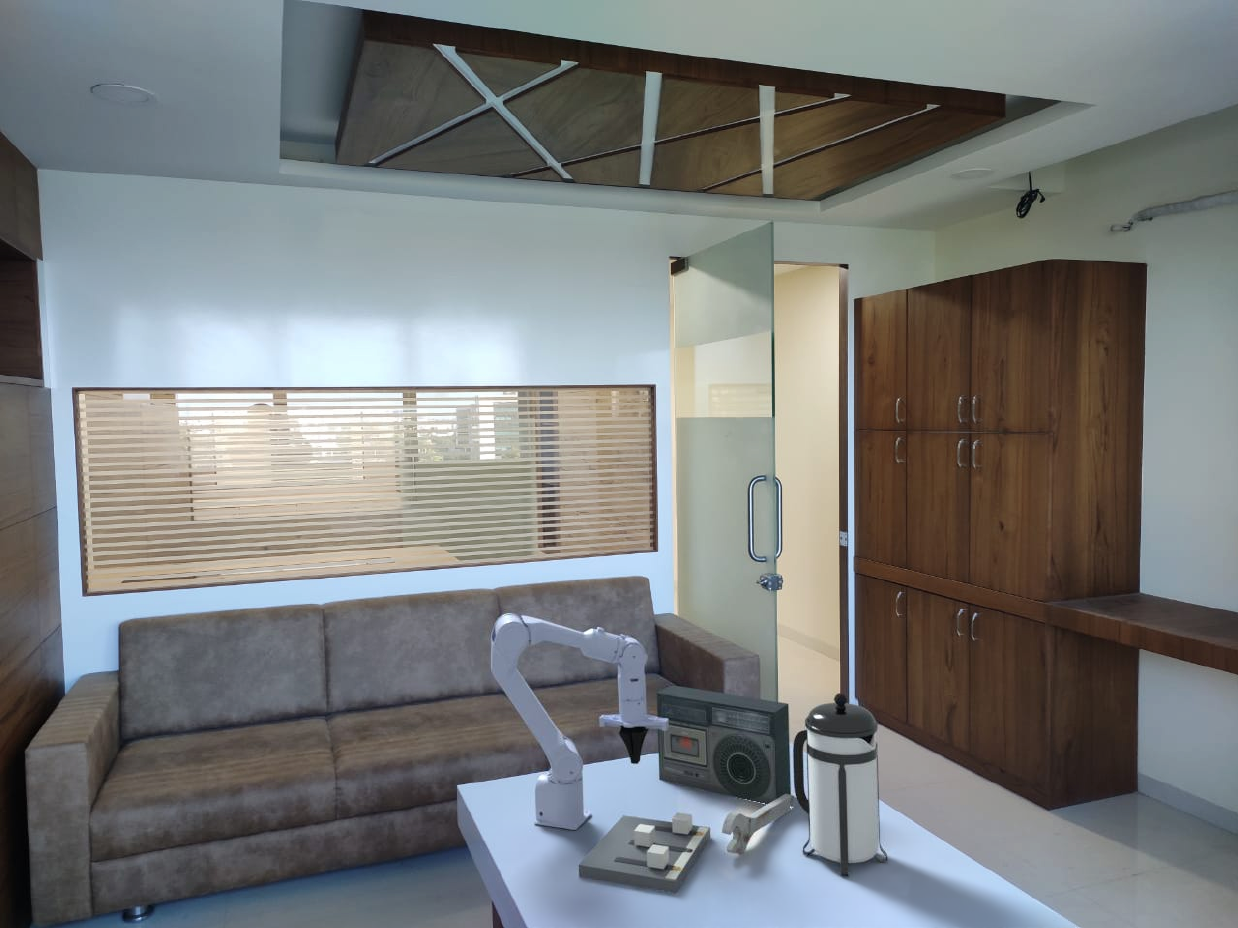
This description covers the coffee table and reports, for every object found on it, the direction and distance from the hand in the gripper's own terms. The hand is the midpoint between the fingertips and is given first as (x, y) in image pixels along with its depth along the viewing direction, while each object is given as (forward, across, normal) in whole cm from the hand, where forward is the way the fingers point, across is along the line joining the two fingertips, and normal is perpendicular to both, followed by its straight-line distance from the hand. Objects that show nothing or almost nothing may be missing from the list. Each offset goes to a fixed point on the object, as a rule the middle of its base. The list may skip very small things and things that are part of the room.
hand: (635, 761), depth 177 cm
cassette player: (+11, +15, +17) cm, 25 cm away
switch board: (+10, +7, -18) cm, 22 cm away
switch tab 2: (+8, +12, -11) cm, 19 cm away
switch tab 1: (+8, +12, -25) cm, 29 cm away
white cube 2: (+8, +7, -18) cm, 21 cm away
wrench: (+11, +26, -3) cm, 29 cm away
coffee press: (+11, +41, -9) cm, 43 cm away
